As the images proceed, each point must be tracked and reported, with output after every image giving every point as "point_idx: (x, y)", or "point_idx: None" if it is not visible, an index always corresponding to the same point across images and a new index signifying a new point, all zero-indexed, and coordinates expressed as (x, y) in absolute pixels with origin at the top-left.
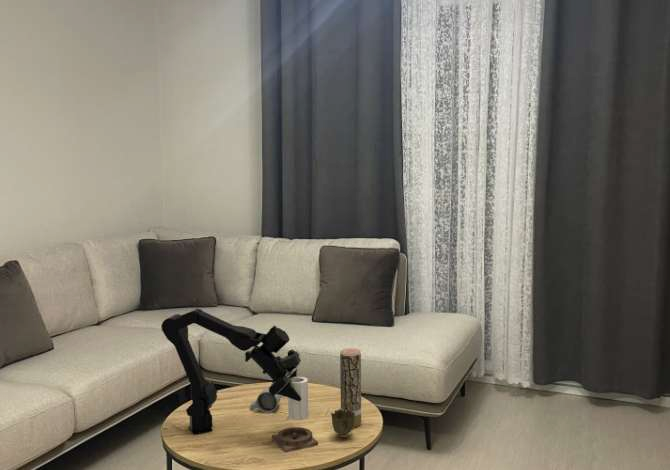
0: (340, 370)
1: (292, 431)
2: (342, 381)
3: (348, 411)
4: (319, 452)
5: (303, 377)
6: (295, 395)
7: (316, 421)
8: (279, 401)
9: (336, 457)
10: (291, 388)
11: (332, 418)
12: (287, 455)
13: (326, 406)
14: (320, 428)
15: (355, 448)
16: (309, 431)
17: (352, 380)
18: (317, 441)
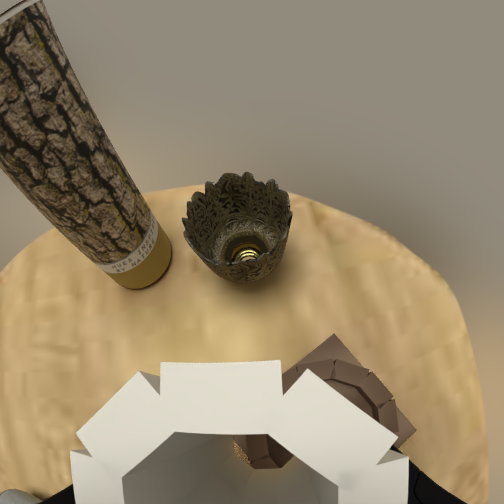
0: (11, 142)
1: (271, 455)
2: (65, 165)
3: (192, 205)
4: (386, 314)
5: (87, 442)
6: None
7: (121, 380)
8: (34, 498)
9: (400, 253)
10: (462, 502)
11: (267, 258)
12: (430, 410)
13: (26, 352)
14: (179, 359)
15: (325, 214)
16: (285, 380)
17: (91, 113)
18: (330, 336)
